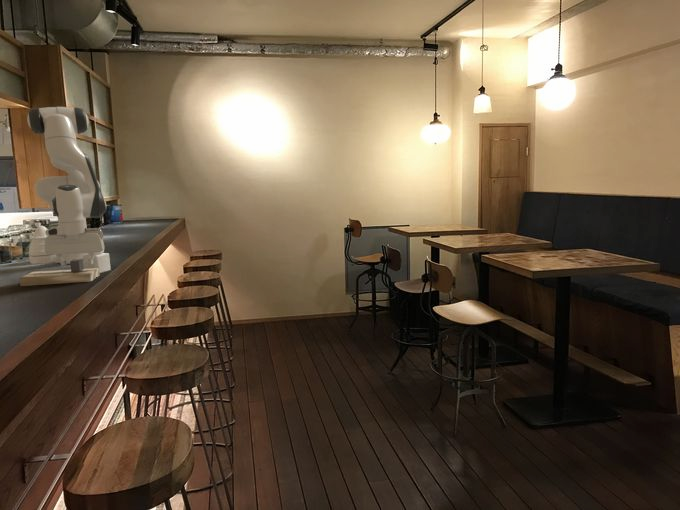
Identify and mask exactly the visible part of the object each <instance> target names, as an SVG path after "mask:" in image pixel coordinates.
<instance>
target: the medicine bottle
mask: <svg viewBox="0 0 680 510" xmlns="http://www.w3.org/2000/svg"><path fill="white" fill-rule="evenodd" d="M90 258H91V256H90V253H88V255H84V256H83V264H84V268H99V270H100V274H102V273H105V272H108V271H109V272H110V271H112V269H111V259H110V253H108V252H105V249H104V250H103V251H102V252H95V256H94V258H93V264H89V265H88V262H87V260H88V259H90Z"/></svg>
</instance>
